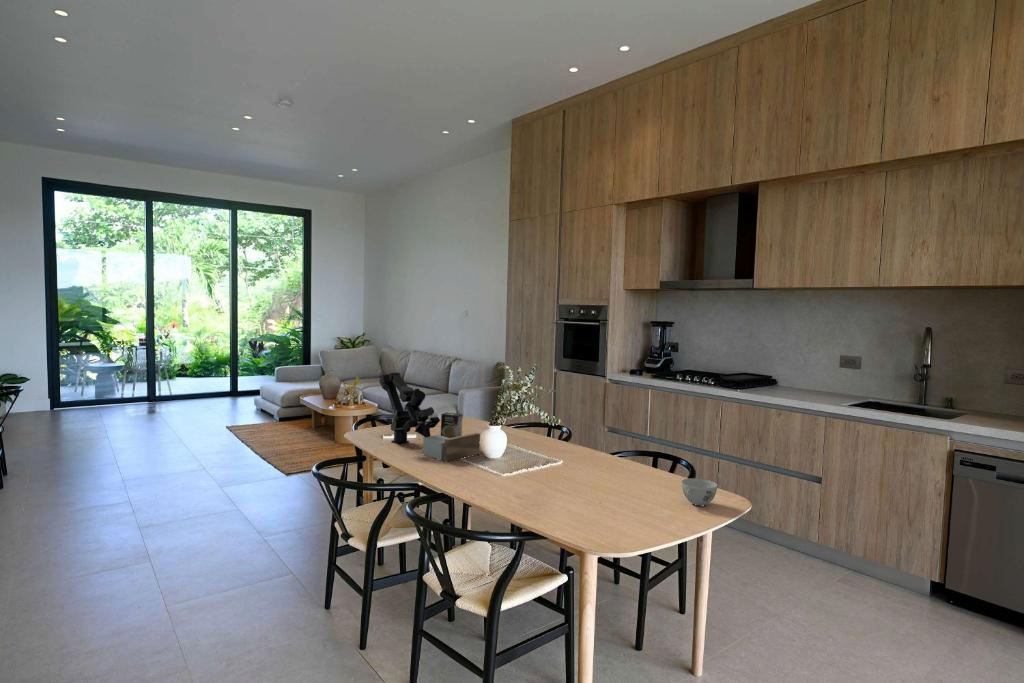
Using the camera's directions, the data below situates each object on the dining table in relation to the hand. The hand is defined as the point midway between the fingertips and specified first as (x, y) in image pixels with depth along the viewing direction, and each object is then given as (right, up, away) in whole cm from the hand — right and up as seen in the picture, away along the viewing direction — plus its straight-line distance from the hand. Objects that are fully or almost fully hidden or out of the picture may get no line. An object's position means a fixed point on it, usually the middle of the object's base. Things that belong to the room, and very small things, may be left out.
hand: (429, 438), depth 262 cm
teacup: (+106, -14, -57) cm, 121 cm away
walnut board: (+16, -8, -6) cm, 18 cm away
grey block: (+5, -7, -4) cm, 10 cm away
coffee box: (+8, -7, +16) cm, 19 cm away
